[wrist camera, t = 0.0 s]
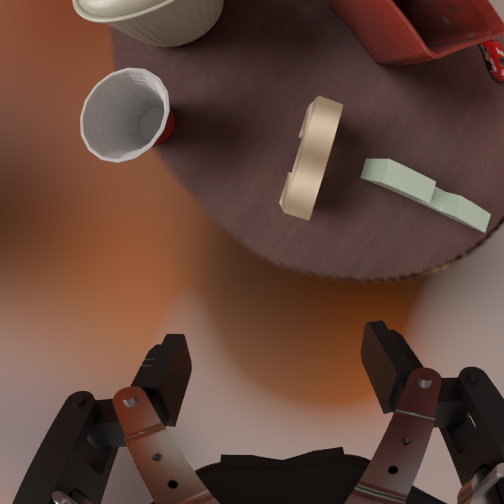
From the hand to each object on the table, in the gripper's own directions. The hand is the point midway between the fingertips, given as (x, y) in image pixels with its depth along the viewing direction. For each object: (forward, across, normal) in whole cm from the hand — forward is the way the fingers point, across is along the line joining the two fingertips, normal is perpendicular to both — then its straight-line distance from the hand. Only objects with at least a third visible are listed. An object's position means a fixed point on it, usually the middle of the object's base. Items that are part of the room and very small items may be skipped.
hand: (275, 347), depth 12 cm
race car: (+30, -46, -32) cm, 64 cm away
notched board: (+29, -24, -3) cm, 38 cm away
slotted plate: (+29, -6, -8) cm, 31 cm away
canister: (+30, +10, -33) cm, 45 cm away
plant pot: (+30, -21, -31) cm, 48 cm away
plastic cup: (+30, +14, -15) cm, 36 cm away
